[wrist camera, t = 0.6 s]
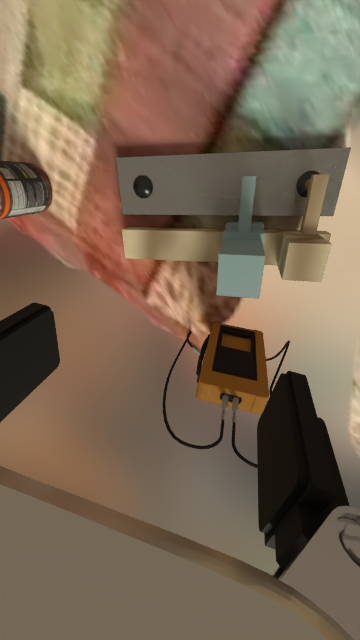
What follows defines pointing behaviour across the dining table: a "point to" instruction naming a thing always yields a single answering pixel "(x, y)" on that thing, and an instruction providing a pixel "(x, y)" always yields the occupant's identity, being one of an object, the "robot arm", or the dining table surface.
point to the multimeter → (231, 375)
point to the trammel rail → (279, 245)
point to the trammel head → (242, 250)
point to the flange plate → (228, 182)
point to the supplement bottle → (23, 189)
